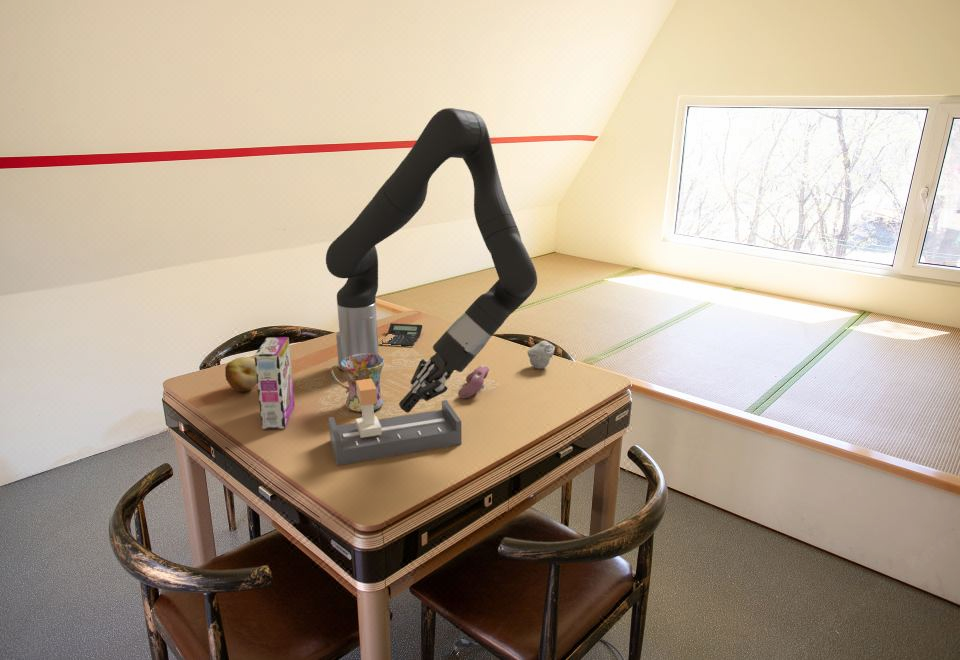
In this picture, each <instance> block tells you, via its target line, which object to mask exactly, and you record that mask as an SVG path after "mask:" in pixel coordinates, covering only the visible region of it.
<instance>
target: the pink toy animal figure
mask: <svg viewBox="0 0 960 660" xmlns="http://www.w3.org/2000/svg"><path fill="white" fill-rule="evenodd" d="M489 371H490V368H489V367H487V366H485V365H482V364H480V366H478V367H477V368H475V369H474V370H473V371H472V372H470V373H469V374H467V376H466V378H465V381H466V383H467V384H465V386H463V387H461V388H460V389H459V390H458V393H457V396H458V397H459V398H460V399H468V398H470V397H472V396H474V395H475V396H476V395H477V393H478V392H479V391H480V390H483V389H484V388H485V387H486V384H484V381H485V379H486V378H487V376H488V374H489Z"/></svg>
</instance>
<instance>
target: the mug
mask: <svg viewBox="0 0 960 660" xmlns="http://www.w3.org/2000/svg"><path fill="white" fill-rule="evenodd" d="M385 363H386V362H385V358H384V357H383V356H382V355H376V354H356V355H352V356H349V357H346V358H344V359H343V360H342V361H341V365H338V364H334V365H333V366H331V368H330V374H331V376H332V378H333V379H334V381H335V382H336V383H337V384H338V385H339V386H341V387H342V388H343V389H346V391H345V393H346V394H347V393H348V394H347V398H346V401H345V406H346V407H347V408H348V409H349V410H351V411H354V412H359V413H360V412H361V413H362V409H361V404H360V401H359V399H358V397H357V390H356V381H357V380H364V379H372V380H373V383H374V385H375V387H376V389H377V404H373V405H374V411H375V410H378V409H380V408H381V407H383V405H384V404H385V401H386V399H385V398H384V395H383V393H382V390H381V385H380V384H381V383H380V382H381V381H380V380H381V373H382V369H383V366H384V364H385ZM335 368H338V369H339V368H341V369H343V370H344V374H345V376H346V380H347V383H348V384H347V385H348V386H347V385H345V383H342V382H341V381H340V380H339V379H338V378H337V376H336V375H335V373H334V369H335ZM343 370H342V371H343Z"/></svg>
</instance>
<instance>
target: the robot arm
mask: <svg viewBox="0 0 960 660" xmlns="http://www.w3.org/2000/svg"><path fill="white" fill-rule="evenodd" d="M490 137H491V136H490V134H489V131H488V127H487V124H486V122H485V120H484V119H483V117H482V116H481V115H479V114H478V113H476V112H474V111H471V110H466V109H465V110H464V109H461V108H460V109H458V108H455V107H454V108H453V107H447V108H442V109H441V110H439V111H437V112H436V113H435V114H434V115H433V116H432V117H431V118H430V119H429V121H428V122H427V124H426V126H425V127H424V128H423V130H422V132H421V134H420V135H419V136H418V137H417V140H416V141H415V143H414V144H413V146H412V147H411V149H410V150H409V152H408V153H407V155H406V156H405V157H404V158H403V160H402V161H401V162H400V164H399V165H398V166H397V168H396V169H395V170H394V171H393V172H392V174H391V175H390V176H389V178H388V179H386V180H385V182H384V183H383V184H382V186H381V187H380V188H379V189H378V190H377V192H376V193H375V194H374V196H373V197H372V198H371V200H369V202H368V203H367V205H365V207H364V208H363V210H361V212H360V213H359V215H358V216H357V217H356V218H355V220H354V221H353V222H352V223H351V224H350V225H349V226H348V227H347V228H346V229H345V230H343V232H341V234H340V235H338V237H337V238H336V239H334V240H333V241H332V242H331V243H330V245H329V246H328V248H327V251H326V255H325V264H326V268H327V270H328V272H329V273H330V274H331V275H333V276H334V277H336V278H338V279H347V280H346V281H345V284H344V285H343V286H342V287H341V288H340V289H338V292H336V293H337V294H336V303H337V317H338V329H339V330H338V332H336V334H335V337H336V348H337V361H338V362H337V363H338V364H337V365H341V361H342V360H343V359H344V358H346V357H349V356H352V355H356V354H376V355H379V339H378V337H379V336H378V319H377V301H376V299H377V298H376V297H377V296H376V295H377V293H378V289H379V257H378V252H377V248H376V246H377V245H378V244H379V243H381V242H382V241H384V240H386V239H388V238H389V237H391V236H392V235H394V234H395V233H397V232H398V231H399V230H401V229H403V228H404V226H406V225H407V224H408V223H409V222H410V221H411V220H412V218H413V217H414V216H415V215H416V214H417V213H418V212H419V210H421V208H422V207H423V205H424V204H425V201H426V199H427V194H428V188H429V187H428V186H429V182H430V180H431V177H432V176H433V174H434V173H436V171H437V170H438V169H439V168H440V166H442V165H443V164H444V163H445V162H446V161H447V160H450V159H452V158H453V159H454V158H455V159H462V160H463V161H464V163H465V165H466V166H467V168H468V170H469V172H470V174H471V175H470V176H471V179H472V181H473V182H472V183H473V194H474V195H473V211H474V217H475V221H476V222H475V223H476V225H477V227H478V230H479V232H480V235H481V237H482V239H483V242H484V244H485V246H486V249H487V250H488V251H489V254H490V256H491V259H492V262H493V265H494V268H495V271H496V273H497V277H498V279H497V281H495V283H494V284H493V285H492V286H491V287H490V289H488V291H487V292H485V293H482V294H481V295H480V296H478V297H477V298H476V299H475V300H474V301H473V302H472V303H471V305H470V306H469V307H468V308H467V309H466V310H465V311H464V313H462V314H461V315H460V316H459V317H458V318H457V319H456V320H455V321H454V322H453V323H452V324H451V325H450V326H449V327H448V328H447V330H445V332H444V333H443V334H442V335H441V336H440V337H439V338H438V340H437V341H436V342H435V343H434V344H433V346H432V349H433V351H434V352H435V354H434V355H432V356H430V358H429V359H428V360H425V359H421V360H419V362H418V365H417V367H416V370H415V372H414V373H413V376H412V378H411V381H410V382H409V383H410V384H411V386H410V389H409V391H408V392H407V394H405V396H404V397H403V398H402V399H401V400H400V401H399V403H398V406H399V407H400V409H401V410H403V412H405V413H408V414H409V413H410V412H411V410H412V409H413V408H414V407H415V406H416V405H417V403H419V402H420V401H423V400H424V401H425V402H428V401H430V400H432V399H433V398H436V397H438V396H440V395H442V394H444V393H445V392H447V390H448V387H447V386H446V382H447V381H448V380H449V379H450V377H451V376H452V374H453V372H454V371H456V372H459V373H461V372H463V371H464V370H465V369H466V368H467V367H468V365H469V364H470V363H471V362H472V361H473V360H474V359H475V358H476V356H477V355H478V354H480V352H481V351H482V350H483V349H484V348H485V347H486V344H487V343H488V342H489V340H490V339H491V337H492V336H494V334H496V332H497V331H498V330H499V329H500V328H501V327H502V326H503V324H504V323H505V321H506V320H507V319H508V317H510V315H512V314H513V313H515V311H516V310H517V309H518V308H519V307H521V306H522V305H523V304H524V303H525V302H526V301H527V299H528V298H530V296H531V295H532V294H533V293H534V292H535V290H536V289H537V288H536V287H537V286H538V274H537V270H536V268H535V266H534V263H533V261H532V258H531V257H530V255H529V253H528V250H527V249H526V247H525V244H524V243H523V240H522V237H521V233H520V231H519V228H518V226H517V223H516V221H515V218H514V216H513V214H512V211H511V209H510V206H509V204H508V201H507V199H506V195H505V193H504V189H503V187H502V182H501V178H500V175H499V170H498V166H497V163H496V158H495V154H494V150H493V146H492V142H491V138H490ZM379 356H380V355H379ZM340 369H341V368H339V367H338V370H340ZM341 371H344V370H343V369H341Z"/></svg>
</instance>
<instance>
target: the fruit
mask: <svg viewBox="0 0 960 660" xmlns="http://www.w3.org/2000/svg"><path fill="white" fill-rule="evenodd" d="M224 370H225V373H224V374H225V375H224V376H225V380H226V382H228V385H229V386H230V387H231V389H233V390H234V391H237V392H241V391H242V392H248V391H249V390H252V389H253V388H254V387H256V385H257V375H256V366H255V358H254V359H253V358H252V357H249V356H241V357H236V358H235V359H233V360H231V361H229V362H228V363H227V364H226V366H225V369H224Z"/></svg>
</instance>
